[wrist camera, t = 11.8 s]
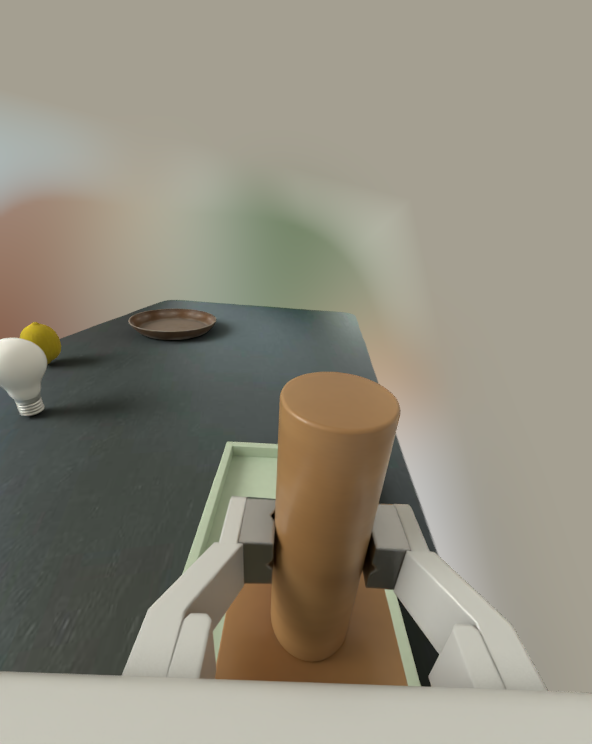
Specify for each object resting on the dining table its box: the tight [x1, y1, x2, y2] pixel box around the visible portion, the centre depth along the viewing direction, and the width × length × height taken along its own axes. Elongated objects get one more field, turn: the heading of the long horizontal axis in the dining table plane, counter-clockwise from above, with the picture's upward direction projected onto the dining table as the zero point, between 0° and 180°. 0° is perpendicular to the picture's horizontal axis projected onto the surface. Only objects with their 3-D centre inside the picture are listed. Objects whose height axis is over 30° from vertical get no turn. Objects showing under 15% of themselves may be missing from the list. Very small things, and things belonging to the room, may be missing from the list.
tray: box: [183, 442, 421, 686], centre depth 26 cm, size 16×24×2 cm, turn 0°
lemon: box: [20, 322, 61, 364], centre depth 55 cm, size 6×6×8 cm
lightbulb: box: [0, 338, 47, 416], centre depth 40 cm, size 6×6×11 cm
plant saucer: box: [129, 309, 216, 340], centre depth 78 cm, size 21×21×3 cm
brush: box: [215, 372, 408, 686], centre depth 10 cm, size 6×4×12 cm, turn 90°
